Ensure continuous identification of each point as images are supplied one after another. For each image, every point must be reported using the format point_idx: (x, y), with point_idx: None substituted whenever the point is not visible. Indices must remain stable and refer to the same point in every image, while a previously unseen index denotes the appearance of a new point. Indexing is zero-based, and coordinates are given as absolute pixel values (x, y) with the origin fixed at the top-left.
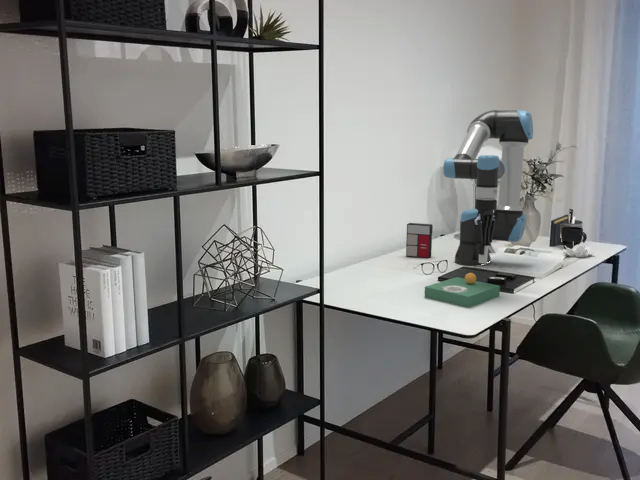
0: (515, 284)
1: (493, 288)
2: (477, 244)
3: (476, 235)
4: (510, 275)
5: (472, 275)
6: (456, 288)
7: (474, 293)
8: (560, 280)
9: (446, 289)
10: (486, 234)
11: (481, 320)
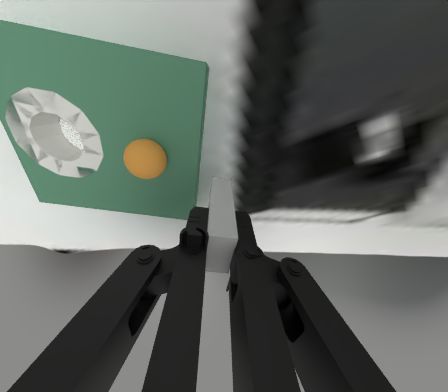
0: (317, 199)
1: (161, 216)
2: (181, 237)
3: (55, 356)
4: (421, 160)
5: (133, 174)
6: (82, 133)
7: (76, 201)
8: (382, 251)
9: (23, 118)
10: (237, 368)
11: (28, 232)
